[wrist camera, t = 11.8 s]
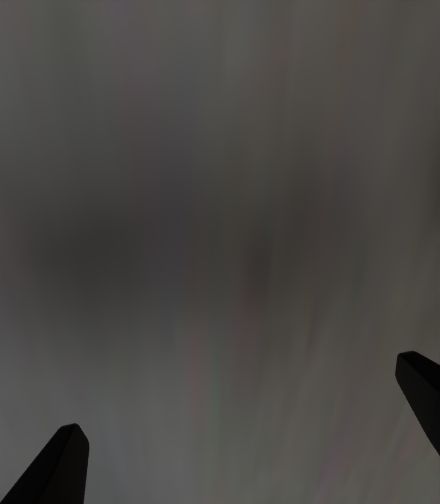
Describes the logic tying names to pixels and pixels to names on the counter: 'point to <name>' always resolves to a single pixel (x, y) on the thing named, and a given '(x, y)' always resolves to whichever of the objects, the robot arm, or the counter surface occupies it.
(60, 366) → the counter surface
